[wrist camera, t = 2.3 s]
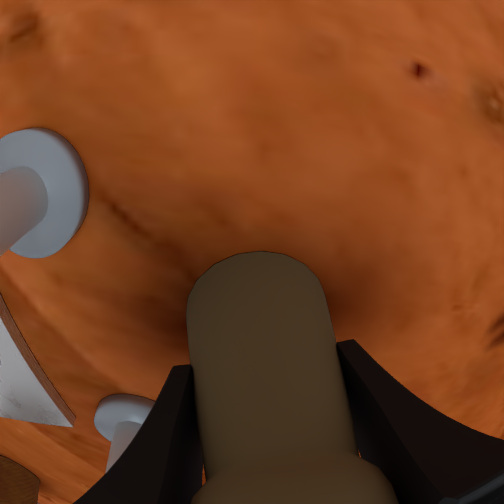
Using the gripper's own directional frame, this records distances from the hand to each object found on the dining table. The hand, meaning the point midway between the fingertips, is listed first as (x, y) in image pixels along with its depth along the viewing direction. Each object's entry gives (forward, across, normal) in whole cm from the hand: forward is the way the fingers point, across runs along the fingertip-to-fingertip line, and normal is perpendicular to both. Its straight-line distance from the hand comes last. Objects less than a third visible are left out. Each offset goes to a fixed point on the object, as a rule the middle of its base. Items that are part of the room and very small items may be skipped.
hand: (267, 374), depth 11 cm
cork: (+4, 0, 0) cm, 4 cm away
